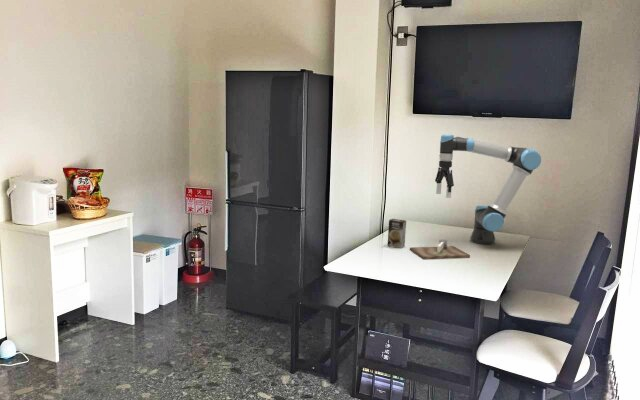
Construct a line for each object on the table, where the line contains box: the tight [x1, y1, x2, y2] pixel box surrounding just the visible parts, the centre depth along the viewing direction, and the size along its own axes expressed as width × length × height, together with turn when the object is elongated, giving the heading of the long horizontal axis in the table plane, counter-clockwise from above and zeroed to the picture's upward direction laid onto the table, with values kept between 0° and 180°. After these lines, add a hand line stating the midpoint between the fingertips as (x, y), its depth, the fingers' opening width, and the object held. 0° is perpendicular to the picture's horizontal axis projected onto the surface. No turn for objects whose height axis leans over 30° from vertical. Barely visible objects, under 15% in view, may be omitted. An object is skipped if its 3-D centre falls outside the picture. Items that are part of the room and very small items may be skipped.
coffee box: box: [387, 218, 407, 249], centre depth 322 cm, size 9×6×16 cm
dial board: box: [409, 245, 471, 260], centre depth 309 cm, size 28×20×2 cm
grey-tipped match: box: [437, 239, 448, 253], centre depth 311 cm, size 15×4×4 cm, turn 157°
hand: (443, 195), depth 324 cm, fingers open, 13 cm apart
